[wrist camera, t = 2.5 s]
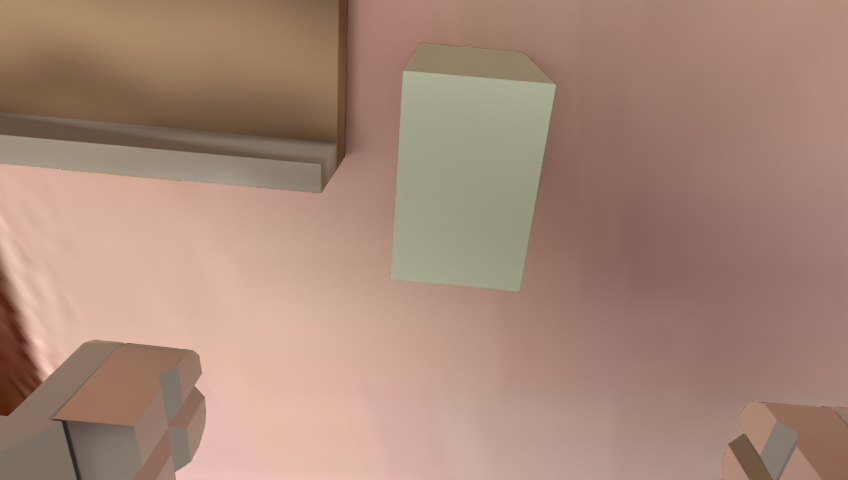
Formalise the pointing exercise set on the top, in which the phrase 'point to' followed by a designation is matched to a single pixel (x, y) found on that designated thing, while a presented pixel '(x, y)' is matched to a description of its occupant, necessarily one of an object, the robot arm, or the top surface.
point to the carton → (468, 165)
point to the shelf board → (176, 89)
